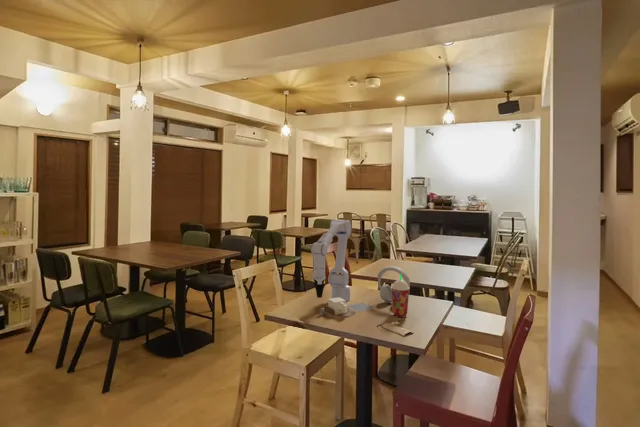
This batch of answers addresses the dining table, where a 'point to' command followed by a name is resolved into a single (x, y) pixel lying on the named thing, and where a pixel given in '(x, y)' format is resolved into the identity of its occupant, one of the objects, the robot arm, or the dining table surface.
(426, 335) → the dining table surface
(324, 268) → the robot arm
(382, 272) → the headphones
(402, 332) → the newspaper
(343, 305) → the beige upright block
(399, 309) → the smoothie
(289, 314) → the dining table surface
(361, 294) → the dining table surface
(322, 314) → the turntable
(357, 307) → the board
